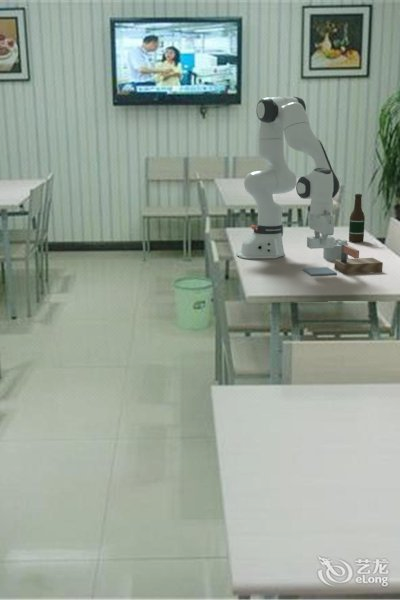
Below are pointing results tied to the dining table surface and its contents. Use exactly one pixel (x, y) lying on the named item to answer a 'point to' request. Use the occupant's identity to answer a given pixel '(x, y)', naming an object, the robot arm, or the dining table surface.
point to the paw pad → (334, 251)
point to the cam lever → (348, 252)
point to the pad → (319, 271)
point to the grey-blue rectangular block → (320, 242)
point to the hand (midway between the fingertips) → (320, 242)
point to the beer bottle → (357, 222)
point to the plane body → (358, 265)
